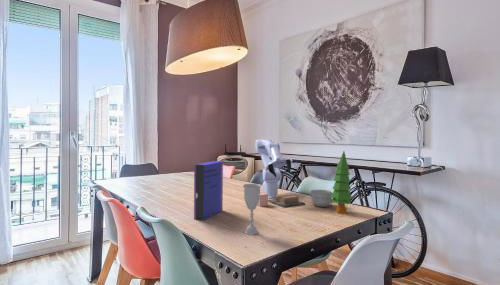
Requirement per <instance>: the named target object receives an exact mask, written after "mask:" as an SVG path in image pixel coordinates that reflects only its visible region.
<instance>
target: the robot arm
mask: <svg viewBox="0 0 500 285" xmlns="http://www.w3.org/2000/svg"><path fill="white" fill-rule="evenodd" d="M254 144H255V151H256V152H257V154H259V155H260V158H261V161H262V163H263V167H264V168H263V169H262V179H263V183H262V185H261V187H262V192H263V193H266V194H268V199H275V195H279V193H278V192H279V191H278V190H279V185H278V184H279V182H280V181H281V180H282V179H281V178H282V173H281V171H280V170H279V169H281V168H282V167H284V166H286V169H287V171H288V174H289V175H291V174H292V173H291V172H292V171H291V168H292V164H294V163H293V159H292V158H283V156H282V153H281V147H280V143H279V142H277V143H276V142H275V141H273V140H271V139H256V140H255V143H254ZM270 157H271V158H270Z"/></svg>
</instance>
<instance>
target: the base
mask: <svg viewBox="0 0 500 285" xmlns="http://www.w3.org/2000/svg"><path fill="white" fill-rule="evenodd" d="M268 203H270V204H272V205H275V206H279V207H281V208H291V207H297V206H304V205H306V202H305V201H302V200H299V196H297V195H294V194H291V193H280V194H279V193H278V195H275V198H271V199H268Z"/></svg>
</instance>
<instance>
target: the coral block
mask: <svg viewBox="0 0 500 285" xmlns="http://www.w3.org/2000/svg"><path fill="white" fill-rule="evenodd" d="M268 200H269V198H268V194H266V193H263V192H261V191H260V199H259V202H258V204H257V206H256V207H266V206H267V207H268V206H269V202H268Z"/></svg>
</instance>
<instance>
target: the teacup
mask: <svg viewBox="0 0 500 285" xmlns="http://www.w3.org/2000/svg"><path fill="white" fill-rule="evenodd" d="M332 193H333V191H332V190H330V189H312V190H310V200H311V203H312V204H314V206H315V207H320V208H321V207H323V208H324V207H328V206H329V205H331V204H332V203H334V202H332V200H333V198H331V196H332Z"/></svg>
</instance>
